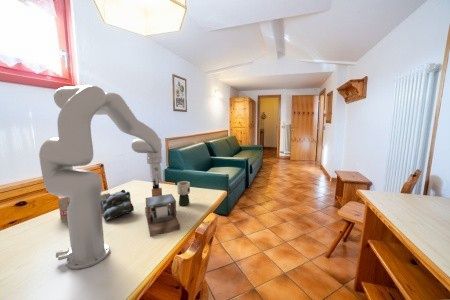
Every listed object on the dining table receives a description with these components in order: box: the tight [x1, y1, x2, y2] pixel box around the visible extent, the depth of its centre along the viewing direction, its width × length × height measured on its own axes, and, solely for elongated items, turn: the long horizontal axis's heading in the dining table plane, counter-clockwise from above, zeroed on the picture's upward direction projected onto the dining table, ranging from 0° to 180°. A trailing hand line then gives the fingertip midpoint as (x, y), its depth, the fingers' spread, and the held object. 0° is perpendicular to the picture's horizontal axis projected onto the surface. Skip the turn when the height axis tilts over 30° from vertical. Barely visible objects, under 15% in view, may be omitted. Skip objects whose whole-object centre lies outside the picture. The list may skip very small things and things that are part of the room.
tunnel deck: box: [144, 193, 181, 238], centre depth 95 cm, size 13×26×11 cm, turn 26°
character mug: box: [176, 180, 191, 206], centre depth 114 cm, size 11×7×13 cm, turn 10°
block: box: [155, 204, 168, 218], centre depth 93 cm, size 5×5×6 cm
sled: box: [151, 187, 173, 224], centre depth 97 cm, size 9×20×9 cm, turn 26°
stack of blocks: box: [57, 190, 110, 223], centre depth 103 cm, size 21×6×12 cm, turn 134°
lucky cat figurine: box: [102, 189, 135, 222], centre depth 101 cm, size 15×12×14 cm
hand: (156, 192), depth 108 cm, fingers closed
